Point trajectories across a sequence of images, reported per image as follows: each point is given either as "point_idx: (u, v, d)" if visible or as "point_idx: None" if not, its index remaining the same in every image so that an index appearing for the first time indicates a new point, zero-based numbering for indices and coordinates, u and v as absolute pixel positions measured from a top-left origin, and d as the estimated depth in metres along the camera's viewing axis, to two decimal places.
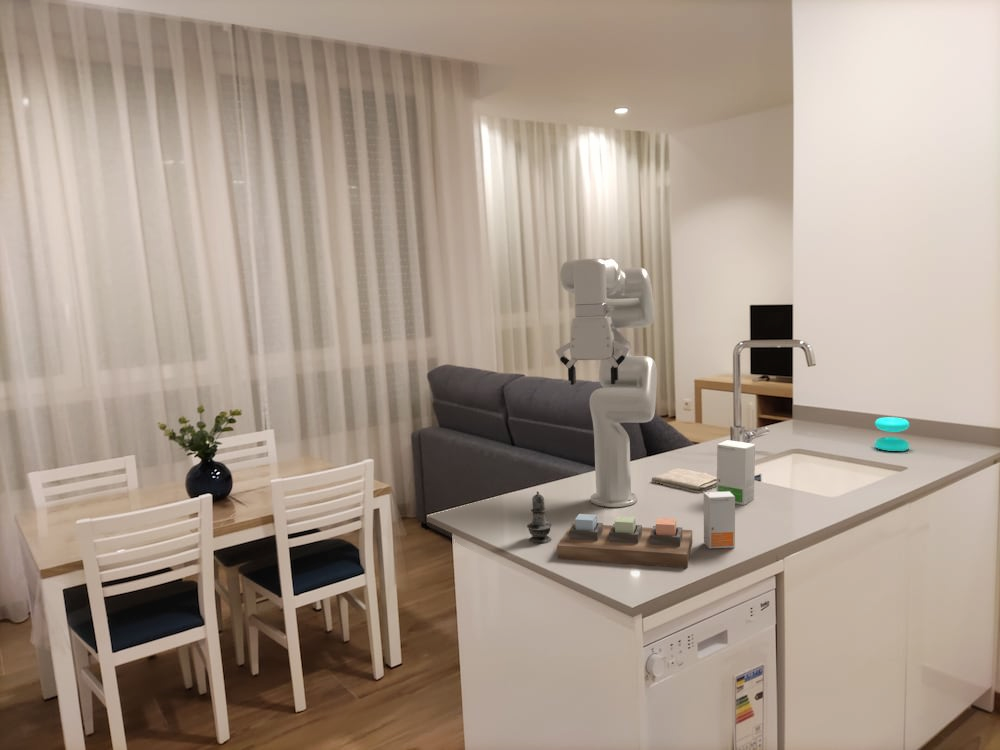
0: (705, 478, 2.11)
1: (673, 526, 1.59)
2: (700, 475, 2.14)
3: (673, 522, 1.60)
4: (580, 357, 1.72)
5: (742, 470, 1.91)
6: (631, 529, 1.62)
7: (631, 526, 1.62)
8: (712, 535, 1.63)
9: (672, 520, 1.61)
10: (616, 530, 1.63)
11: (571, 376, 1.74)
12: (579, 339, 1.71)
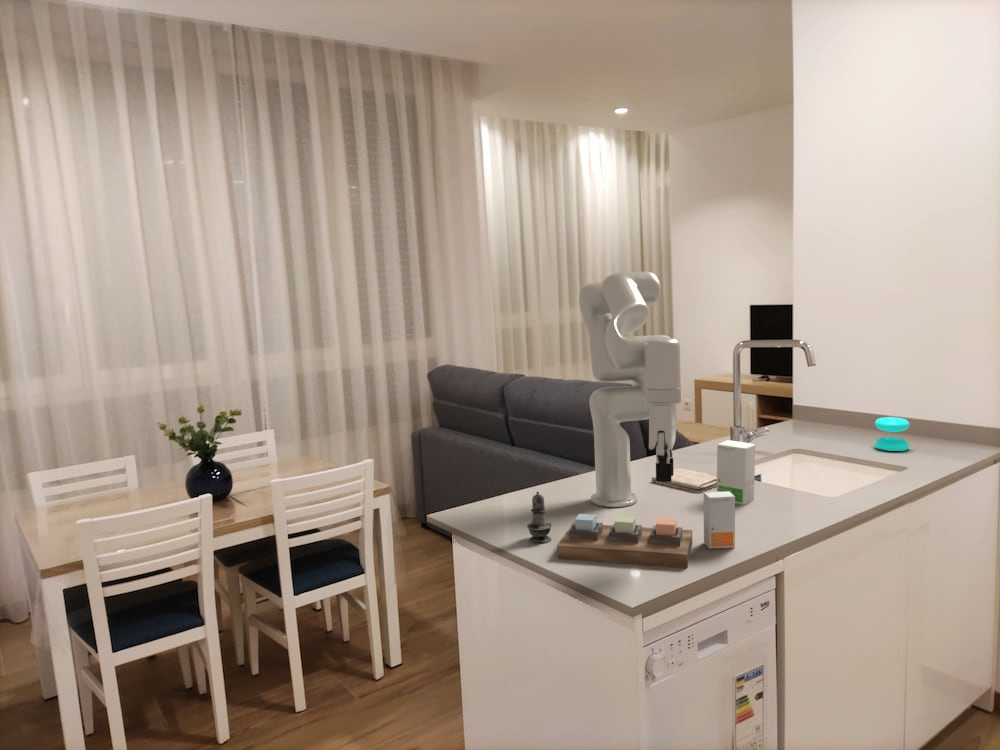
0: (705, 478, 2.11)
1: (673, 526, 1.59)
2: (700, 475, 2.14)
3: (673, 522, 1.60)
4: (672, 446, 1.56)
5: (742, 470, 1.91)
6: (631, 529, 1.62)
7: (631, 526, 1.62)
8: (712, 535, 1.63)
9: (672, 520, 1.61)
10: (616, 530, 1.63)
11: (671, 472, 1.57)
12: (673, 426, 1.55)
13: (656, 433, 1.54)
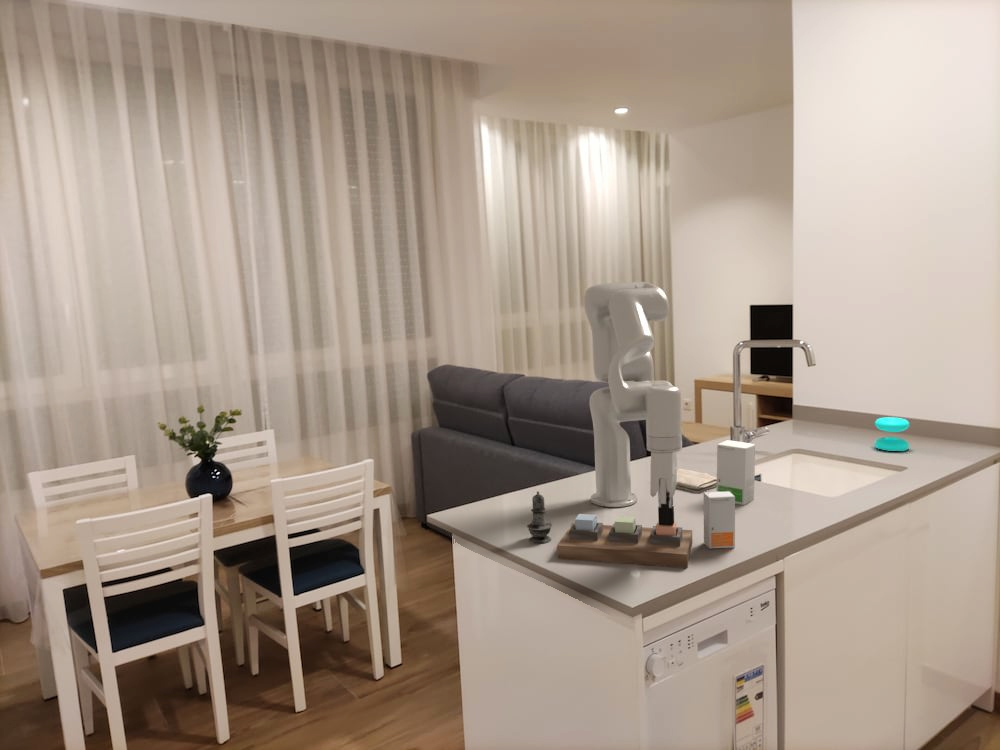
0: (705, 479, 2.11)
1: (673, 528, 1.59)
2: (700, 475, 2.14)
3: (673, 524, 1.60)
4: (673, 493, 1.57)
5: (742, 470, 1.91)
6: (631, 529, 1.62)
7: (631, 526, 1.62)
8: (712, 535, 1.63)
9: None
10: (616, 530, 1.63)
11: (673, 516, 1.60)
12: (674, 473, 1.56)
13: (657, 480, 1.55)
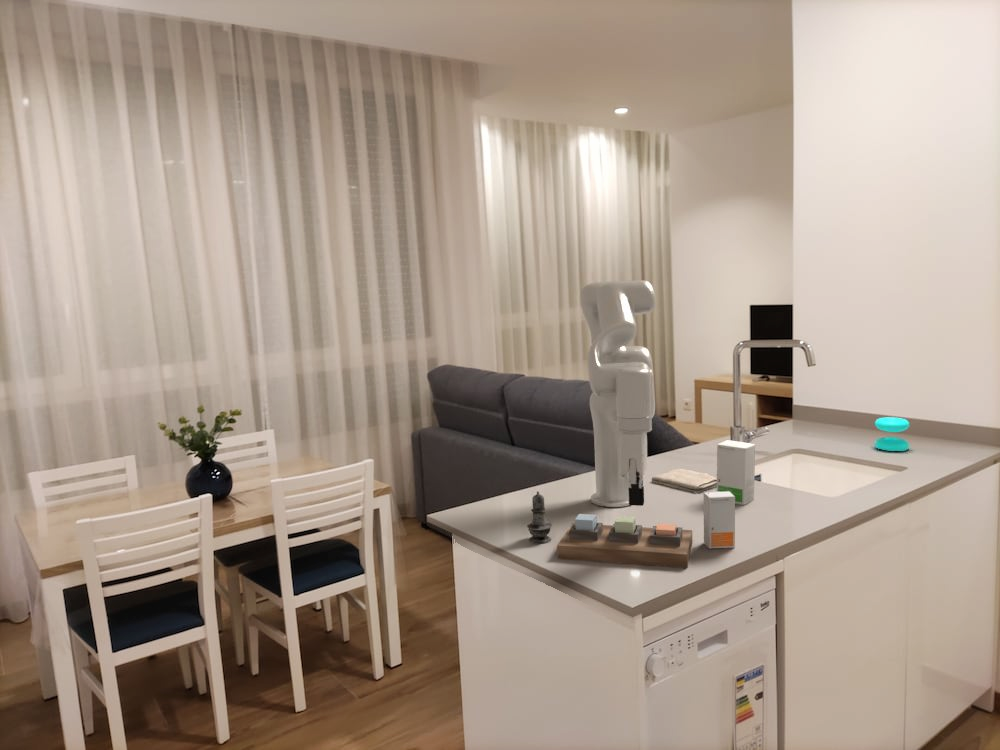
0: (705, 479, 2.11)
1: (673, 531, 1.59)
2: (700, 475, 2.14)
3: (673, 527, 1.60)
4: (643, 473, 1.59)
5: (742, 470, 1.91)
6: (631, 529, 1.62)
7: (631, 526, 1.62)
8: (712, 535, 1.63)
9: (672, 525, 1.62)
10: (616, 530, 1.63)
11: (643, 496, 1.61)
12: (644, 454, 1.58)
13: (627, 461, 1.57)
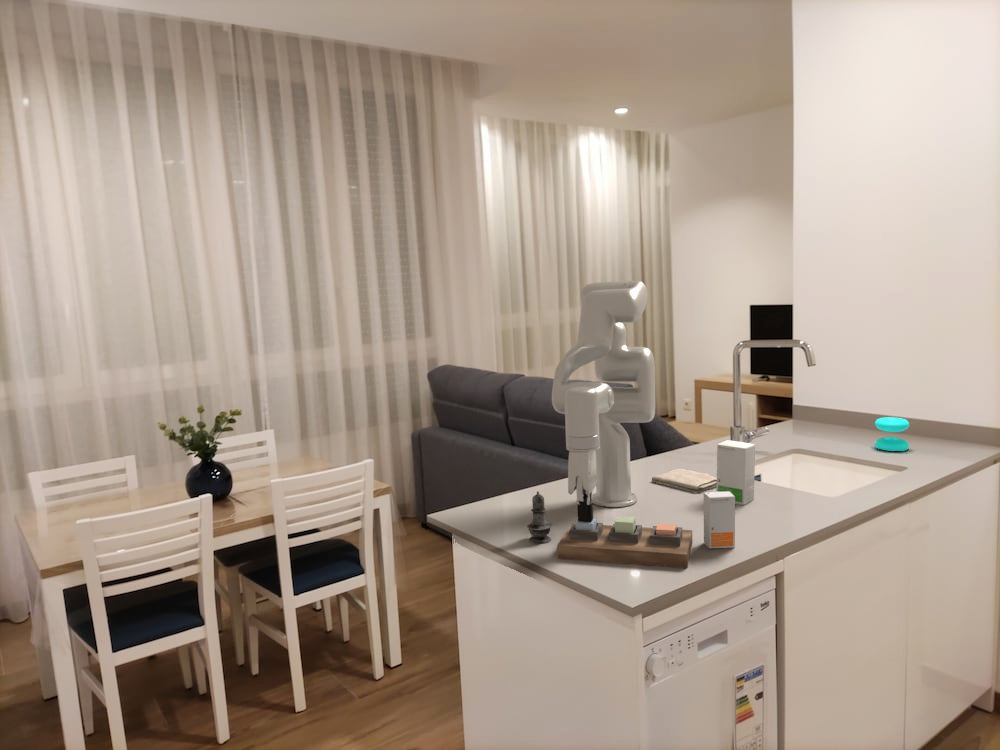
0: (705, 479, 2.11)
1: (673, 531, 1.59)
2: (700, 475, 2.13)
3: (673, 527, 1.60)
4: (591, 491, 1.63)
5: (742, 470, 1.91)
6: (631, 529, 1.62)
7: (631, 526, 1.62)
8: (712, 535, 1.63)
9: (672, 525, 1.62)
10: (616, 530, 1.63)
11: (591, 513, 1.65)
12: (591, 472, 1.62)
13: (574, 479, 1.61)
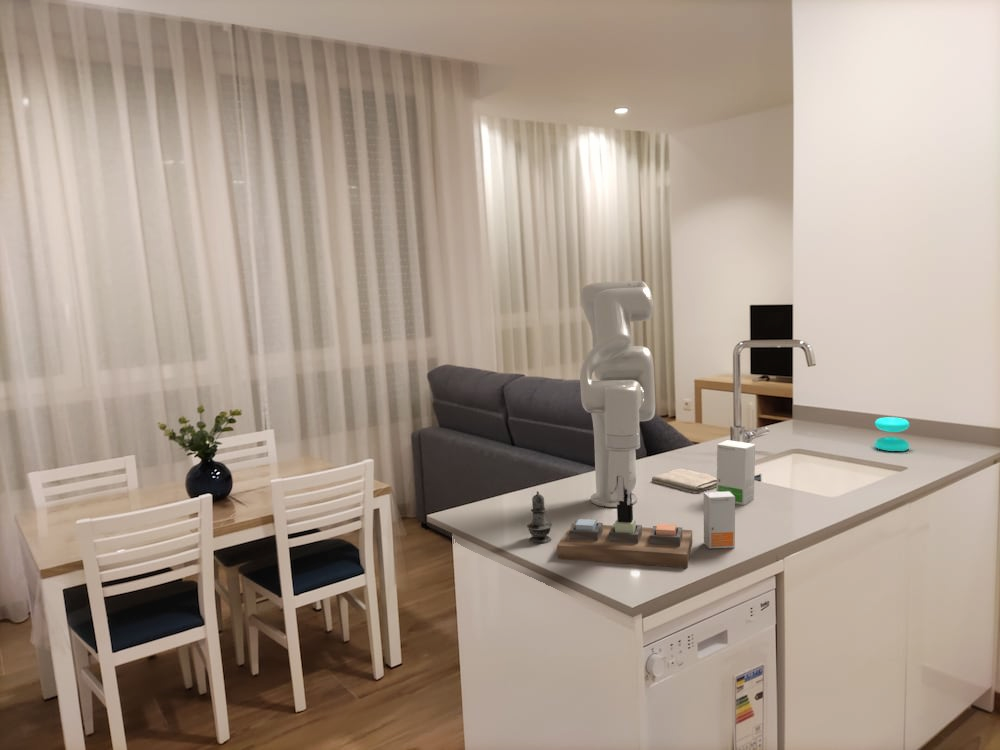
0: (704, 479, 2.11)
1: (673, 531, 1.59)
2: (700, 476, 2.13)
3: (673, 527, 1.60)
4: (631, 490, 1.60)
5: (742, 470, 1.91)
6: (631, 531, 1.62)
7: (631, 528, 1.62)
8: (712, 535, 1.63)
9: (672, 525, 1.62)
10: None
11: (631, 513, 1.62)
12: (632, 471, 1.59)
13: (615, 478, 1.58)
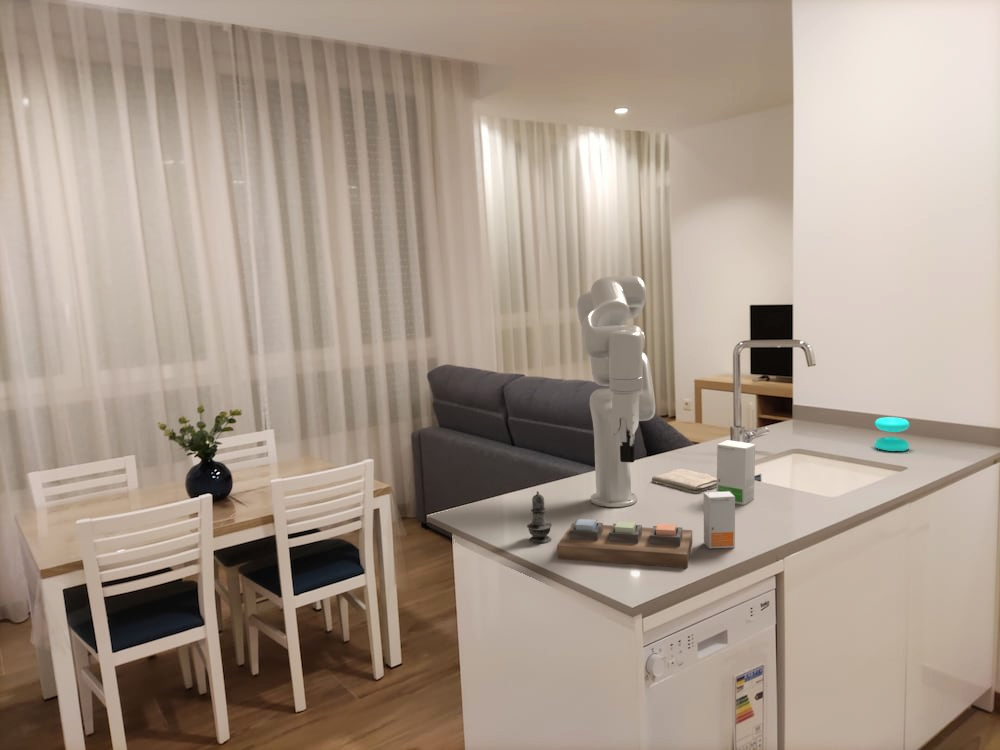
0: (704, 479, 2.10)
1: (673, 531, 1.59)
2: (700, 476, 2.13)
3: (673, 527, 1.60)
4: (634, 432, 1.66)
5: (742, 470, 1.91)
6: None
7: (631, 531, 1.62)
8: (712, 535, 1.63)
9: (672, 525, 1.62)
10: None
11: (634, 453, 1.69)
12: (635, 413, 1.65)
13: (618, 420, 1.64)
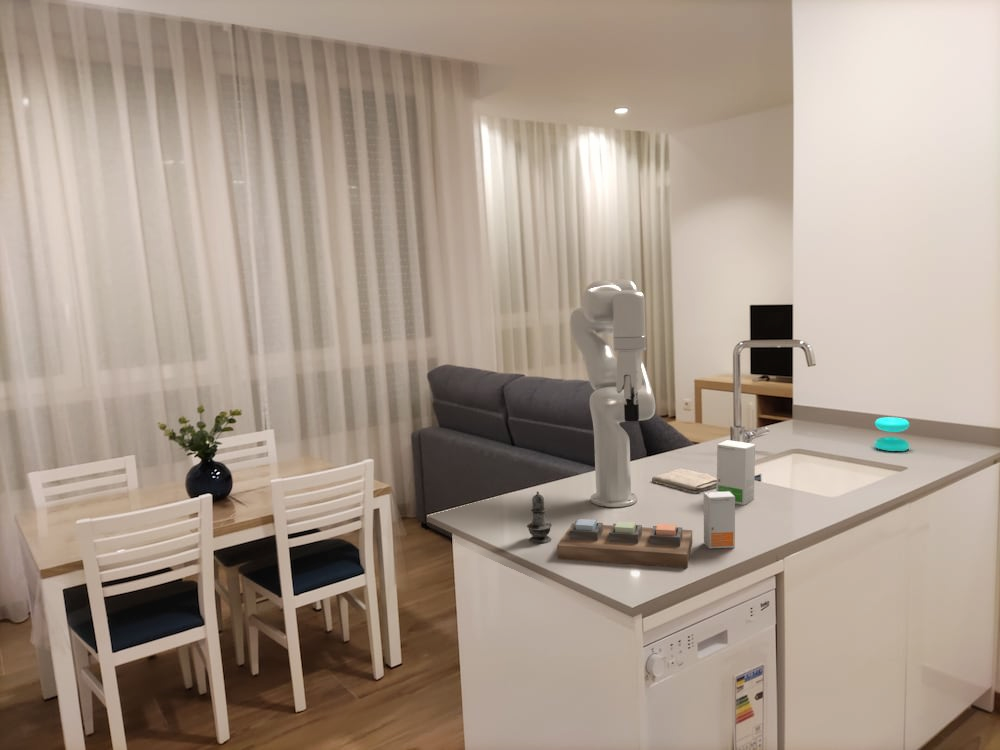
0: (704, 479, 2.10)
1: (673, 531, 1.59)
2: (700, 476, 2.13)
3: (673, 527, 1.60)
4: (638, 389, 1.71)
5: (742, 470, 1.91)
6: None
7: (631, 531, 1.62)
8: (712, 535, 1.63)
9: (672, 525, 1.62)
10: None
11: (638, 412, 1.73)
12: (638, 371, 1.70)
13: (623, 377, 1.69)
